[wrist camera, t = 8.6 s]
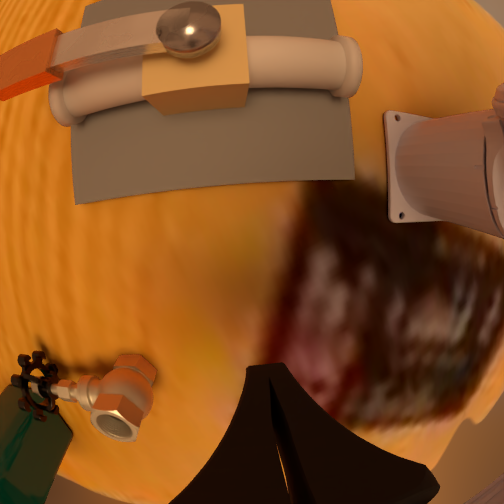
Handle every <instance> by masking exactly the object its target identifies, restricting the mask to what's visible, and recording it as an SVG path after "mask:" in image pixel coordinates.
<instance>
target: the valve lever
mask: <svg viewBox="0 0 504 504" xmlns="http://www.w3.org/2000/svg"><path fill="white" fill-rule="evenodd" d="M220 37H221V17H220V14H219V12H218V11H217V10H216V9H215V8H214V7H213V6H211V5H210V4H207V3H204V2H198V1H190V2H184V3H180V4H178V5H175V6H173V7H171V8H170V9H168V10H162V11H154V12H147V13H141V14H136V15H130V16H125V17H120V18H116V19H112V20H108V21H104V22H100V23H96V24H92V25H89V26H86V27H82V28H79V29H76V30H73V31H70V32H67V33H64V34H63V33H62V32H61V31H60V30H58V29H54V30H52V31H49V32H47V33H45V34H42V35H40V36H38V37H35V38H33V39H31V40H29V41H27V42H25V43H23V44H21V45H19V46H17V47H15V48H13V49H11V50H9V51H7V52H5V53H4V54H2V55H0V100H1V101H5V100H8V99H10V98H12V97H15V96H17V95H20V94H22V93H25V92H27V91H30V90H33V89H36V88H39V87H41V86H44V85H47V84H50V83H54V82H57V81H60V80H62V79H63V74H64V72H65V71H68V70H72V69H76V68H79V67H83V66H87V65H91V64H95V63H100V62H104V61H109V60H114V59H120V58H125V57H131V56H138V55H145V54H153V53H163V52H167V53H169V54H170V55H172V56H175V57H178V58H193V57H198V56H201V55H203V54H205V53H207V52H209V51H210V50H211V49H213V48H214V47H215V46H216V45H217V43H218V42H219V40H220Z"/></svg>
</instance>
